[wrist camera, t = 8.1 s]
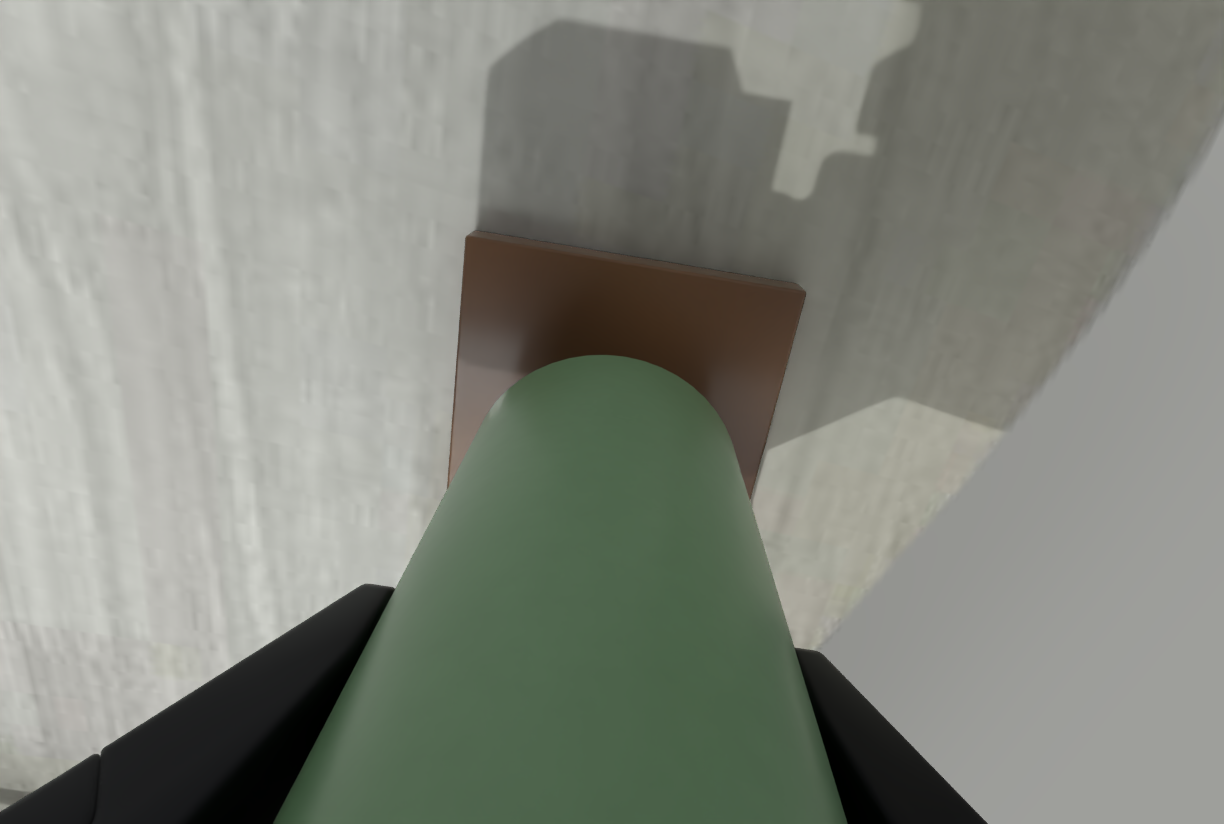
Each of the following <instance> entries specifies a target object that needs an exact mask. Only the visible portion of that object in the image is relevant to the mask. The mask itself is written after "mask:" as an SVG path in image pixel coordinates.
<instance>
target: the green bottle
mask: <svg viewBox="0 0 1224 824" xmlns="http://www.w3.org/2000/svg"><path fill="white" fill-rule="evenodd" d="M273 824H848V823H847V820H846V817H845V813H844V810H843V807H842V803H841V800H840V797H839V794H838V790H837V787H836V784H835V780H834V777H833V774H832V770H831V767H830V764H829V761H828V757H827V754H826V751H825V747H824V744H823V741H822V737H821V734H820V731H819V728H818V724H817V721H816V718H815V714H814V711H813V708H812V704H811V701H810V698H809V695H808V691H807V688H806V685H805V681H804V678H803V675H802V671H801V668H800V665H799V662H798V658H797V655H796V652H795V648H794V645H793V642H792V638H791V635H790V632H789V628H788V625H787V622H786V619H785V615H784V612H783V609H782V605H781V602H780V599H779V595H778V592H777V589H776V586H775V582H774V579H773V576H772V572H771V569H770V566H769V562H768V559H767V556H766V553H765V549H764V546H763V543H762V539H761V536H760V533H759V529H758V526H757V523H756V520H755V516H754V513H753V510H752V506H751V503H750V500H749V496H748V493H747V490H746V487H745V483H744V480H743V477H742V473H741V470H740V467H739V463H738V460H737V457H736V454H735V450H734V447H733V444H732V440H731V438H730V436H729V434H728V431H727V429H726V427H725V425H724V423H723V421H722V420H721V418H720V417H719V415H718V413H717V412H716V410H715V409H714V408H713V407H712V406H711V404H710V403H709V402H708V401H707V399H706V398H705V397H704V396H703V395H701V394H700V393H699V392H698V391H697V390H696V389H695V388H694V387H693V386H691V385H690V384H689V383H687V382H686V381H684V380H683V379H681V378H680V377H679V376H677V375H675V374H673V373H671V372H669V371H667V370H665V369H663V368H662V367H659V366H656V365H653V364H651V363H648V362H645V361H642V360H637V359H633V358H629V357H623V356H613V355H587V356H580V357H574V358H568V359H565V360H561V361H558V362H554V363H551V364H549V365H547V366H544V367H542V368H540V369H537V370H535V371H533V372H532V373H530V374H528V375H527V376H525V377H523V378H522V379H520V380H519V381H518V382H516V383H515V384H514V385H513V386H511V387H510V388H509V389H508V390H507V391H506V392H505V393H504V394H503V395H502V396H501V397H500V398H499V399H498V400H497V401H496V402H495V404H494V405H493V406H492V408H491V409H490V411H489V412H488V414H487V415H486V416H485V418H484V420H483V422H482V424H481V426H480V428H479V430H478V432H477V434H476V436H475V438H474V439H473V441H472V443H471V445H470V447H469V449H468V451H467V453H466V455H465V457H464V459H463V461H462V462H461V464H460V466H459V468H458V470H457V472H456V474H455V476H454V478H453V480H452V482H451V483H450V485H449V487H448V489H447V491H446V493H445V495H444V497H443V499H442V501H441V503H440V505H439V506H438V508H437V510H436V512H435V514H434V516H433V518H432V520H431V522H430V524H429V526H428V527H427V529H426V531H425V533H424V535H423V537H422V539H421V541H420V543H419V545H418V547H417V549H416V550H415V552H414V554H413V556H412V558H411V560H410V562H409V564H408V566H407V568H406V570H405V572H404V573H403V575H402V577H401V579H400V581H399V583H398V585H397V587H396V589H395V591H394V593H393V594H392V596H391V598H390V600H389V602H388V604H387V606H386V608H385V610H384V612H383V614H382V616H381V617H380V619H379V621H378V623H377V625H376V627H375V629H374V631H373V633H372V635H371V637H370V638H369V640H368V642H367V644H366V646H365V648H364V650H363V652H362V654H361V656H360V658H359V660H358V661H357V663H356V665H355V667H354V669H353V671H352V673H351V675H350V677H349V679H348V681H347V683H346V684H345V686H344V688H343V690H342V692H341V694H340V696H339V698H338V700H337V702H336V704H335V705H334V707H333V709H332V711H331V713H330V715H329V717H328V719H327V721H326V723H325V725H324V727H323V728H322V730H321V732H320V734H319V736H318V738H317V740H316V742H315V744H314V746H313V748H312V749H311V751H310V753H309V755H308V757H307V759H306V761H305V763H304V765H303V767H302V769H301V771H300V772H299V774H298V776H297V778H296V780H295V782H294V784H293V786H292V788H291V790H290V792H289V794H288V795H287V797H286V799H285V801H284V803H283V805H282V807H281V809H280V811H279V813H278V815H277V816H276V818H275V820H274V822H273Z"/></svg>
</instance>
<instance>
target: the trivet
mask: <svg viewBox="0 0 1224 824" xmlns="http://www.w3.org/2000/svg"><path fill="white" fill-rule="evenodd" d="M805 297H806V292H805V291H804V290H803V289H802V288H801V287H800V286H799V285H798V284H796V283H790V282H784V281H778V280H772V279H766V278H760V277H754V276H748V275H742V274H736V273H730V272H724V271H718V270H712V269H706V268H700V267H694V266H688V265H682V264H676V263H670V262H664V261H657V260H651V259H645V258H639V257H633V256H627V255H621V254H615V253H609V252H603V251H597V250H591V249H585V248H579V247H573V246H567V245H561V244H555V243H549V242H543V241H537V240H531V239H525V238H519V237H513V236H506V235H500V234H494V233H488V232H482V231H473V232H472V233H470V234H469V235H467V236H466V238H465V252H464V265H463V279H462V293H461V306H460V320H459V334H458V347H457V361H456V375H455V388H454V402H453V415H452V429H451V443H450V456H449V470H448V484H447V489H448V487H449V485H450V483H451V482H452V480H453V478H454V476H455V474H456V472H457V470H458V468H459V466H460V464H461V462H462V461H463V459H464V457H465V455H466V453H467V451H468V449H469V447H470V445H471V443H472V441H473V439H474V438H475V436H476V434H477V432H478V430H479V428H480V426H481V424H482V422H483V420H484V418H485V416H486V415H487V414H488V412H489V411H490V409H491V408H492V406H493V405H494V404H495V402H496V401H497V400H498V399H499V398H500V397H501V396H502V395H503V394H504V393H505V392H506V391H507V390H508V389H509V388H510V387H511V386H513V385H514V384H515V383H516V382H518V381H519V380H520V379H522V378H523V377H525V376H527V375H528V374H530V373H532V372H533V371H535V370H537V369H540V368H542V367H544V366H547V365H549V364H551V363H554V362H558V361H561V360H565V359H568V358H574V357H580V356H587V355H613V356H623V357H629V358H633V359H637V360H642V361H645V362H648V363H651V364H653V365H656V366H659V367H662V368H663V369H665V370H667V371H669V372H671V373H673V374H675V375H677V376H679V377H680V378H681V379H683V380H684V381H686V382H687V383H689V384H690V385H691V386H693V387H694V388H695V389H696V390H697V391H698V392H699V393H700V394H701V395H703V396H704V397H705V398H706V399H707V401H708V402H709V403H710V404H711V406H712V407H713V408H714V409H715V410H716V412H717V413H718V415H719V417H720V418H721V420H722V421H723V423H724V425H725V427H726V429H727V431H728V434H729V436H730V438H731V440H732V444H733V447H734V450H735V454H736V457H737V460H738V463H739V467H740V470H741V473H742V477H743V480H744V483H745V487H746V490H747V493H748V496H749V500H750V499H751V495H752V492H753V488H754V484H755V481H756V477H757V473H758V469H759V466H760V462H761V458H762V455H763V451H764V447H765V444H766V440H767V436H768V433H769V429H770V425H771V422H772V418H773V414H774V411H775V407H776V403H777V400H778V396H779V392H780V389H781V385H782V381H783V377H784V374H785V370H786V366H787V363H788V359H789V355H790V352H791V348H792V344H793V341H794V337H795V333H796V330H797V326H798V322H799V319H800V315H801V311H802V308H803V304H804V300H805Z"/></svg>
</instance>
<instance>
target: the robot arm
mask: <svg viewBox="0 0 1224 824" xmlns="http://www.w3.org/2000/svg"><path fill="white" fill-rule="evenodd" d="M394 591H395V589H394V588H393V587H388V586H381V585H374V584H363V585H361V586H359V587H358V588H356V589H354V590H353V591H351V592H350V593H348V594H347V595H345V596H343V597H342V598H340V599H339V600H337V601H335V602H334V603H332V604H331V605H329V606H328V607H326V608H324V609H323V610H321V611H320V612H318V613H317V614H315V615H313V616H312V617H310V618H309V619H307V620H305V621H304V622H302V623H301V624H299V625H298V626H296V627H294V628H293V629H291V630H290V631H288V632H286V633H285V634H283V635H282V636H280V637H279V638H277V639H275V640H274V641H272V642H271V643H269V644H267V645H266V646H264V647H263V648H261V649H260V650H258V651H256V652H255V653H253V654H252V655H250V656H249V657H247V658H245V659H244V660H242V661H241V662H239V663H237V664H236V665H234V666H233V667H231V668H230V669H228V670H226V671H225V672H223V673H222V674H220V675H218V676H217V677H215V678H214V679H212V680H211V681H209V682H207V683H206V684H204V685H203V686H201V687H199V688H198V689H196V690H195V691H193V692H192V693H190V694H188V695H187V696H185V697H184V698H182V699H181V700H179V701H177V702H176V703H174V704H173V705H171V706H169V707H168V708H166V709H165V710H163V711H162V712H160V713H158V714H157V715H155V716H154V717H152V718H150V719H149V720H147V721H146V722H144V723H143V724H141V725H139V726H138V727H136V728H135V729H133V730H131V731H130V732H128V733H127V734H125V735H124V736H122V737H120V738H119V739H117V740H116V741H114V742H113V743H111V744H109V745H108V746H106V747H105V748H103V750H102V751H101V757H100V755H98V754H93V755H91V756H90V757H88V758H87V759H85V760H84V761H82V762H80V763H79V764H77V765H76V766H74V767H72V768H71V769H69V770H68V771H66V772H65V773H63V774H61V775H60V776H58V777H57V778H55V779H53V780H52V781H50V782H48V783H47V784H45V785H44V786H42V787H40V788H39V789H37V790H35V791H34V792H32V793H30V794H29V795H27V796H25V797H24V798H22V799H20V800H19V801H17V802H16V803H14V804H12V805H11V806H9V807H7V808H6V809H4V810H2V811H1V812H0V824H273V822H274V820H275V818H276V816H277V815H278V813H279V811H280V809H281V807H282V805H283V803H284V801H285V799H286V797H287V795H288V794H289V792H290V790H291V788H292V786H293V784H294V782H295V780H296V778H297V776H298V774H299V772H300V771H301V769H302V767H303V765H304V763H305V761H306V759H307V757H308V755H309V753H310V751H311V749H312V748H313V746H314V744H315V742H316V740H317V738H318V736H319V734H320V732H321V730H322V728H323V727H324V725H325V723H326V721H327V719H328V717H329V715H330V713H331V711H332V709H333V707H334V705H335V704H336V702H337V700H338V698H339V696H340V694H341V692H342V690H343V688H344V686H345V684H346V683H347V681H348V679H349V677H350V675H351V673H352V671H353V669H354V667H355V665H356V663H357V661H358V660H359V658H360V656H361V654H362V652H363V650H364V648H365V646H366V644H367V642H368V640H369V638H370V637H371V635H372V633H373V631H374V629H375V627H376V625H377V623H378V621H379V619H380V617H381V616H382V614H383V612H384V610H385V608H386V606H387V604H388V602H389V600H390V598H391V596H392V594H393V593H394ZM795 652H796V655H797V658H798V662H799V665H800V668H801V671H802V675H803V678H804V681H805V685H806V688H807V691H808V695H809V698H810V701H811V704H812V708H813V711H814V714H815V718H816V721H817V724H818V728H819V731H820V734H821V737H822V741H823V744H824V747H825V751H826V754H827V757H828V761H829V764H830V767H831V770H832V774H833V777H834V780H835V784H836V787H837V790H838V794H839V797H840V800H841V803H842V807H843V810H844V813H845V817H846V820H847V823H848V824H987V822H986V821H985V820H983V818H982V817H981V816H980V815H979V814H978V813H977V812H975V810H974V809H973V808H972V807H971V806H970V805H969V804H968V803H967V802H966V801H965V800H964V799H963V798H962V797H961V796H960V795H959V794H958V793H957V792H956V791H955V790H954V789H953V788H952V787H951V786H950V784H948V782H947V781H946V780H945V779H944V778H943V777H942V776H941V775H940V774H939V773H938V772H937V771H936V770H935V769H934V768H933V767H932V766H931V765H930V764H929V763H928V762H927V761H926V760H925V759H924V758H923V757H922V756H921V755H920V754H919V753H918V752H917V751H916V750H915V749H914V747H913V746H911V744H910V743H909V742H908V741H907V740H906V739H905V738H904V737H903V736H902V735H901V734H900V733H899V732H898V731H897V730H896V729H895V728H894V727H893V726H892V725H891V724H890V723H889V722H888V721H887V720H886V719H885V718H884V717H883V716H882V715H881V714H880V713H879V712H878V711H877V709H876V708H875V707H874V706H873V705H872V704H871V703H870V702H869V701H868V700H867V699H866V698H865V697H864V696H863V695H862V694H861V693H860V692H859V691H858V690H857V689H856V688H855V687H854V686H853V685H852V684H851V683H850V682H849V681H848V680H847V679H846V678H845V677H844V676H843V675H842V674H841V673H840V671H838V669H836V667H835V666H834V665H833V664H832V663H831V662H830V661H829V660H828V659H827V658H826V657H825V656H824V655H823V654H821V653H820V652H818V651H813V650H807V649H800V648H795Z"/></svg>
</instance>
